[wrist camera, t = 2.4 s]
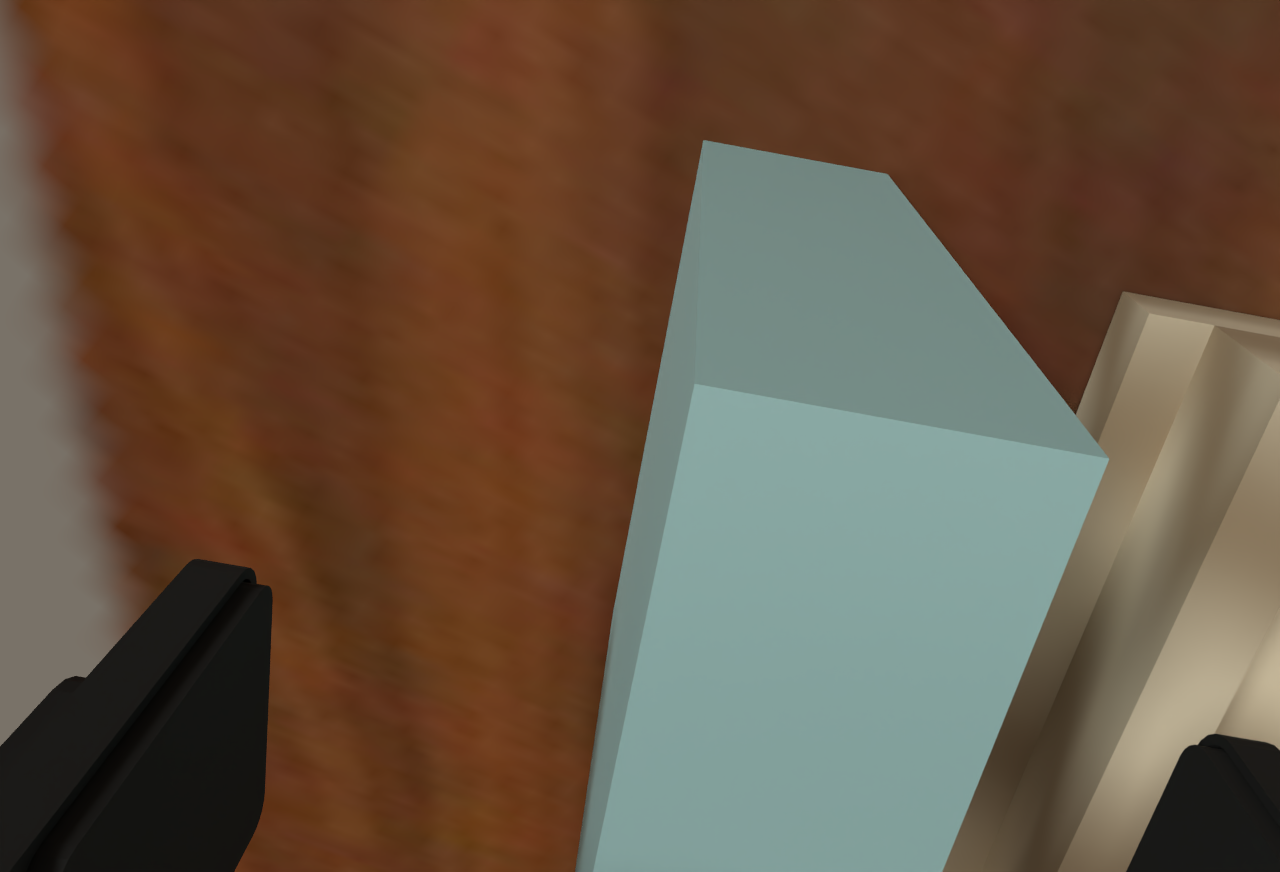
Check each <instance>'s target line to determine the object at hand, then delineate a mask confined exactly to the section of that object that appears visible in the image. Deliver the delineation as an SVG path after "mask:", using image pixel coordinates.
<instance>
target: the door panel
mask: <svg viewBox="0 0 1280 872" xmlns="http://www.w3.org/2000/svg"><path fill="white" fill-rule="evenodd" d="M1108 461H1109V458H1108V456H1107V455H1106V454H1105V452H1104V451H1103V450H1102V449H1101V447H1100V446H1099V445H1098V443H1097V442H1096V441H1095V440H1094V438H1093V437H1092V436H1091V434H1090V433H1089V432H1088V431H1087V429H1086V428H1085V427H1084V425H1083V424H1082V423H1081V422H1080V420H1079V419H1078V418H1077V417H1076V415H1075V414H1074V413H1073V411H1072V410H1071V409H1070V408H1069V406H1068V405H1067V404H1066V402H1065V401H1064V400H1063V399H1062V397H1061V396H1060V395H1059V393H1058V392H1057V391H1056V390H1055V388H1054V387H1053V386H1052V384H1051V383H1050V382H1049V381H1048V379H1047V378H1046V377H1045V375H1044V374H1043V373H1042V372H1041V370H1040V369H1039V368H1038V367H1037V365H1036V364H1035V363H1034V361H1033V360H1032V359H1031V358H1030V356H1029V355H1028V354H1027V352H1026V351H1025V350H1024V349H1023V347H1022V346H1021V345H1020V343H1019V342H1018V341H1017V340H1016V338H1015V337H1014V336H1013V334H1012V333H1011V332H1010V331H1009V329H1008V328H1007V327H1006V325H1005V324H1004V323H1003V322H1002V320H1001V319H1000V318H999V317H998V315H997V314H996V313H995V311H994V310H993V309H992V308H991V306H990V305H989V304H988V302H987V301H986V300H985V299H984V297H983V296H982V295H981V293H980V292H979V291H978V290H977V288H976V287H975V286H974V284H973V283H972V282H971V281H970V279H969V278H968V277H967V275H966V274H965V273H964V272H963V270H962V269H961V268H960V266H959V265H958V264H957V263H956V261H955V260H954V259H953V258H952V256H951V255H950V254H949V252H948V251H947V250H946V249H945V247H944V246H943V245H942V243H941V242H940V241H939V240H938V238H937V237H936V236H935V234H934V233H933V232H932V231H931V229H930V228H929V227H928V225H927V224H926V223H925V222H924V220H923V219H922V218H921V216H920V215H919V214H918V213H917V211H916V210H915V209H914V208H913V206H912V205H911V204H910V202H909V201H908V200H907V199H906V197H905V196H904V195H903V193H902V192H901V191H900V190H899V188H898V187H897V186H896V184H895V183H894V182H893V181H892V179H891V178H890V177H889V175H888V174H884V173H878V172H873V171H867V170H862V169H857V168H851V167H846V166H840V165H835V164H830V163H824V162H819V161H813V160H808V159H802V158H797V157H792V156H786V155H781V154H775V153H770V152H765V151H759V150H754V149H748V148H743V147H738V146H732V145H727V144H721V143H716V142H711V141H705V140H703V146H702V151H701V156H700V161H699V166H698V172H697V177H696V182H695V187H694V193H693V198H692V203H691V208H690V214H689V219H688V224H687V229H686V234H685V240H684V245H683V250H682V255H681V261H680V266H679V271H678V276H677V282H676V287H675V292H674V297H673V302H672V308H671V313H670V318H669V323H668V329H667V334H666V339H665V344H664V350H663V355H662V360H661V365H660V370H659V376H658V381H657V386H656V391H655V397H654V402H653V407H652V412H651V418H650V423H649V428H648V433H647V438H646V444H645V449H644V454H643V459H642V465H641V470H640V475H639V480H638V486H637V491H636V496H635V501H634V506H633V512H632V517H631V522H630V527H629V533H628V538H627V543H626V548H625V554H624V559H623V564H622V569H621V574H620V580H619V585H618V590H617V595H616V601H615V606H614V611H613V617H612V624H611V631H610V638H609V645H608V651H607V658H606V665H605V672H604V679H603V686H602V692H601V699H600V706H599V713H598V720H597V727H596V733H595V740H594V747H593V754H592V761H591V768H590V774H589V781H588V788H587V795H586V802H585V808H584V815H583V822H582V829H581V836H580V843H579V849H578V856H577V863H576V870H575V872H942V871H943V869H944V866H945V864H946V861H947V859H948V856H949V854H950V852H951V849H952V847H953V844H954V842H955V839H956V837H957V834H958V832H959V829H960V827H961V824H962V822H963V819H964V817H965V814H966V812H967V810H968V807H969V805H970V802H971V800H972V797H973V795H974V792H975V790H976V787H977V785H978V782H979V780H980V777H981V775H982V772H983V770H984V768H985V765H986V763H987V760H988V758H989V755H990V753H991V750H992V748H993V745H994V743H995V740H996V738H997V735H998V733H999V730H1000V728H1001V726H1002V723H1003V721H1004V718H1005V716H1006V713H1007V711H1008V708H1009V706H1010V703H1011V701H1012V698H1013V696H1014V693H1015V691H1016V688H1017V686H1018V684H1019V681H1020V679H1021V676H1022V674H1023V671H1024V669H1025V666H1026V664H1027V661H1028V659H1029V656H1030V654H1031V651H1032V649H1033V646H1034V644H1035V642H1036V639H1037V637H1038V634H1039V632H1040V629H1041V627H1042V624H1043V622H1044V619H1045V617H1046V614H1047V612H1048V609H1049V607H1050V605H1051V602H1052V600H1053V597H1054V595H1055V592H1056V590H1057V587H1058V585H1059V582H1060V580H1061V577H1062V575H1063V572H1064V570H1065V567H1066V565H1067V563H1068V560H1069V558H1070V555H1071V553H1072V550H1073V548H1074V545H1075V543H1076V540H1077V538H1078V535H1079V533H1080V530H1081V528H1082V525H1083V523H1084V521H1085V518H1086V516H1087V513H1088V511H1089V508H1090V506H1091V503H1092V501H1093V498H1094V496H1095V493H1096V491H1097V488H1098V486H1099V483H1100V481H1101V479H1102V476H1103V474H1104V471H1105V469H1106V466H1107V464H1108Z"/></svg>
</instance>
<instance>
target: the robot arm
mask: <svg viewBox="0 0 1280 872" xmlns="http://www.w3.org/2000/svg"><path fill="white" fill-rule="evenodd" d="M271 625H272V591H271V588H270V587H269V586H265V585H260V584H256V576H255V572H254V571H253V570H252V569H251V568H247V567H241V566H236V565H230V564H224V563H218V562H212V561H207V560H201V559H194V560H192V561H190V562H189V563H188V564H187V565H186V566H185V567H184V568H183V569H182V570H181V572H180V573H179V574H178V575H177V576H176V577H175V578H174V579H173V581H172V582H171V583H170V584H169V585H168V586H167V587H166V588H165V590H164V591H163V592H162V593H161V594H160V595H159V596H158V597H157V599H156V600H155V601H154V602H153V603H152V604H151V605H150V606H149V608H148V609H147V610H146V611H145V612H144V613H143V614H142V615H141V617H140V618H139V619H138V620H137V621H136V622H135V623H134V624H133V626H132V627H131V628H130V629H129V630H128V631H127V632H126V633H125V635H124V636H123V637H122V638H121V639H120V640H119V641H118V642H117V644H116V645H115V646H114V647H113V648H112V649H111V650H110V651H109V653H108V654H107V655H106V656H105V657H104V658H103V659H102V660H101V662H100V663H99V664H98V665H97V666H96V667H95V668H94V669H93V671H92V672H91V673H90V674H89V675H88V676H87V677H86V678H84V677H78V676H74V677H71V678H68V679H65V680H64V681H63V682H61V683H60V684H59V685H58V686H56V688H54V689H53V690H52V691H51V692H50V693H49V694H48V695H47V696H46V698H45V699H44V700H43V701H42V702H41V703H40V704H39V705H38V706H37V707H36V708H35V709H34V711H33V712H32V713H31V714H30V715H29V716H28V717H27V718H26V719H25V720H24V721H23V723H22V724H21V725H20V726H19V727H18V728H17V729H16V730H15V731H14V732H13V733H12V734H11V736H10V737H9V738H8V739H7V740H6V741H5V742H4V743H3V744H2V745H1V746H0V872H234V871H235V869H236V867H237V865H238V863H239V861H240V859H241V857H242V855H243V853H244V851H245V850H246V848H247V846H248V844H249V842H250V840H251V838H252V836H253V834H254V832H255V830H256V827H257V825H258V822H259V819H260V815H261V812H262V807H263V802H264V794H265V773H266V748H267V724H268V699H269V675H270V650H271ZM1126 872H1280V750H1279V749H1278V748H1277V747H1276V746H1275V745H1272V744H1270V743H1267V742H1261V741H1256V740H1250V739H1244V738H1238V737H1232V736H1227V735H1221V734H1210V735H1207V736H1206V737H1205V738H1203V739H1202V740H1201V741H1200V742H1199V744H1198V745H1190V746H1188V747H1187V748H1185V749H1184V751H1183V752H1182V754H1181V755H1180V757H1179V759H1178V761H1177V764H1176V766H1175V768H1174V770H1173V772H1172V774H1171V776H1170V779H1169V781H1168V783H1167V785H1166V787H1165V789H1164V791H1163V794H1162V796H1161V798H1160V800H1159V802H1158V804H1157V806H1156V809H1155V811H1154V813H1153V815H1152V817H1151V819H1150V821H1149V824H1148V826H1147V828H1146V830H1145V832H1144V834H1143V836H1142V839H1141V841H1140V843H1139V845H1138V847H1137V849H1136V851H1135V854H1134V856H1133V858H1132V860H1131V862H1130V864H1129V866H1128V869H1127V871H1126Z"/></svg>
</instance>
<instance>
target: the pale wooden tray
mask: <svg viewBox="0 0 1280 872" xmlns="http://www.w3.org/2000/svg"><path fill="white" fill-rule="evenodd" d="M1076 417H1077V418H1078V419H1079V420H1080V422H1081V423H1082V424H1083V425H1084V427H1085V428H1086V429H1087V431H1088V432H1089V433H1090V434H1091V436H1092V437H1093V438H1094V440H1095V441H1096V442H1097V443H1098V445H1099V446H1100V447H1101V449H1102V450H1103V451H1104V452H1105V454H1106V455H1107V456H1108V458H1109V461H1108V464H1107V466H1106V469H1105V471H1104V474H1103V476H1102V479H1101V481H1100V483H1099V486H1098V488H1097V491H1096V493H1095V496H1094V498H1093V501H1092V503H1091V506H1090V508H1089V511H1088V513H1087V516H1086V518H1085V521H1084V523H1083V525H1082V528H1081V530H1080V533H1079V535H1078V538H1077V540H1076V543H1075V545H1074V548H1073V550H1072V553H1071V555H1070V558H1069V560H1068V563H1067V565H1066V567H1065V570H1064V572H1063V575H1062V577H1061V580H1060V582H1059V585H1058V587H1057V590H1056V592H1055V595H1054V597H1053V600H1052V602H1051V605H1050V607H1049V609H1048V612H1047V614H1046V617H1045V619H1044V622H1043V624H1042V627H1041V629H1040V632H1039V634H1038V637H1037V639H1036V642H1035V644H1034V646H1033V649H1032V651H1031V654H1030V656H1029V659H1028V661H1027V664H1026V666H1025V669H1024V671H1023V674H1022V676H1021V679H1020V681H1019V684H1018V686H1017V688H1016V691H1015V693H1014V696H1013V698H1012V701H1011V703H1010V706H1009V708H1008V711H1007V713H1006V716H1005V718H1004V721H1003V723H1002V726H1001V728H1000V730H999V733H998V735H997V738H996V740H995V743H994V745H993V748H992V750H991V753H990V755H989V758H988V760H987V763H986V765H985V768H984V770H983V772H982V775H981V777H980V780H979V782H978V785H977V787H976V790H975V792H974V795H973V797H972V800H971V802H970V805H969V807H968V810H967V812H966V814H965V817H964V819H963V822H962V824H961V827H960V829H959V832H958V834H957V837H956V839H955V842H954V844H953V847H952V849H951V852H950V854H949V856H948V859H947V861H946V864H945V866H944V869H943V871H942V872H1126V871H1127V869H1128V866H1129V864H1130V862H1131V860H1132V858H1133V856H1134V854H1135V851H1136V849H1137V847H1138V845H1139V843H1140V841H1141V839H1142V836H1143V834H1144V832H1145V830H1146V828H1147V826H1148V824H1149V821H1150V819H1151V817H1152V815H1153V813H1154V811H1155V809H1156V806H1157V804H1158V802H1159V800H1160V798H1161V796H1162V794H1163V791H1164V789H1165V787H1166V785H1167V783H1168V781H1169V779H1170V776H1171V774H1172V772H1173V770H1174V768H1175V766H1176V764H1177V761H1178V759H1179V757H1180V755H1181V754H1182V752H1183V751H1184V749H1185V748H1187V747H1188V746H1190V745H1198V744H1199V742H1200V741H1201V740H1202V739H1203V738H1205V737H1206V736H1207V735H1210V734H1221V735H1227V736H1232V737H1238V738H1244V739H1250V740H1256V741H1261V742H1267V743H1270V744H1272V745H1275V746H1276V747H1277V748H1278V749H1279V750H1280V320H1276V319H1270V318H1265V317H1259V316H1254V315H1249V314H1243V313H1238V312H1232V311H1227V310H1221V309H1216V308H1210V307H1205V306H1200V305H1194V304H1189V303H1183V302H1178V301H1172V300H1167V299H1162V298H1156V297H1151V296H1145V295H1140V294H1134V293H1129V292H1123V293H1122V295H1121V298H1120V300H1119V303H1118V306H1117V308H1116V311H1115V314H1114V316H1113V319H1112V321H1111V324H1110V327H1109V329H1108V332H1107V334H1106V337H1105V340H1104V342H1103V345H1102V348H1101V350H1100V353H1099V355H1098V358H1097V361H1096V363H1095V366H1094V369H1093V371H1092V374H1091V376H1090V379H1089V382H1088V384H1087V387H1086V389H1085V392H1084V395H1083V397H1082V400H1081V403H1080V405H1079V408H1078V410H1077V413H1076Z"/></svg>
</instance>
